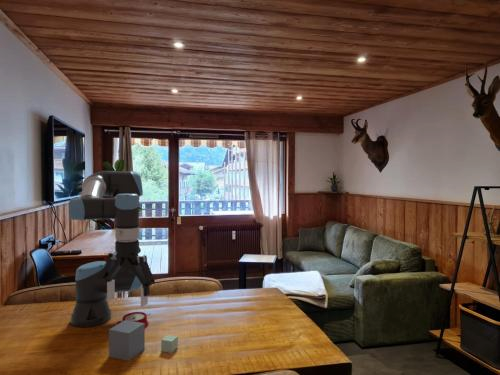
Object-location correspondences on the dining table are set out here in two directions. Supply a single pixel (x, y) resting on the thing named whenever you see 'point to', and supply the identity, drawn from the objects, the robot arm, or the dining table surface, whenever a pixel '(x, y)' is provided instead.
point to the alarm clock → (135, 318)
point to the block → (169, 343)
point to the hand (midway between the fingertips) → (127, 302)
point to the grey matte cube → (126, 340)
